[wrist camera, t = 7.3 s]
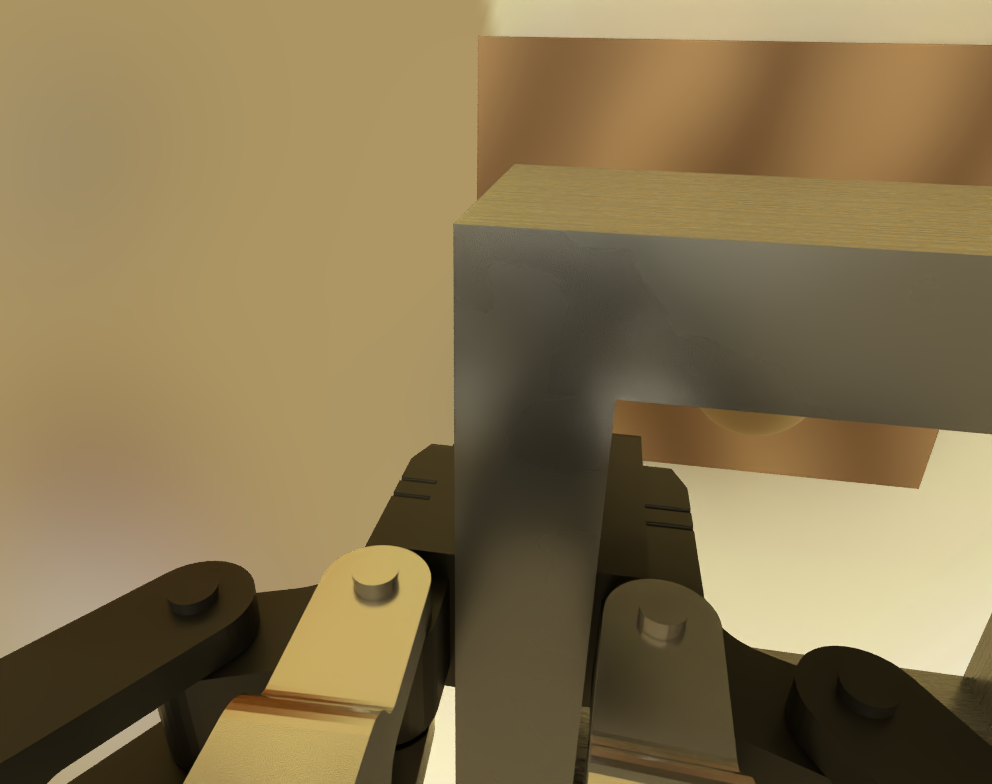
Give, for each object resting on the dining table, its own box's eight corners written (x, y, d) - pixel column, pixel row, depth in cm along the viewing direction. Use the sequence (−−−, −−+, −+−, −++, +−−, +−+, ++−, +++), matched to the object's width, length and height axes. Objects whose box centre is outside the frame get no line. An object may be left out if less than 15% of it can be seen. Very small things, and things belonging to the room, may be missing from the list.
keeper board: (1041, 47, 19) (1403, 37, 10) (903, 466, 26) (1055, 688, 17) (487, 37, 22) (389, 22, 13) (482, 425, 28) (414, 600, 19)
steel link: (1326, 202, 8) (1847, 306, 5) (1028, 750, 13) (1186, 1018, 9) (515, 164, 10) (453, 223, 6) (497, 672, 14) (455, 878, 11)
